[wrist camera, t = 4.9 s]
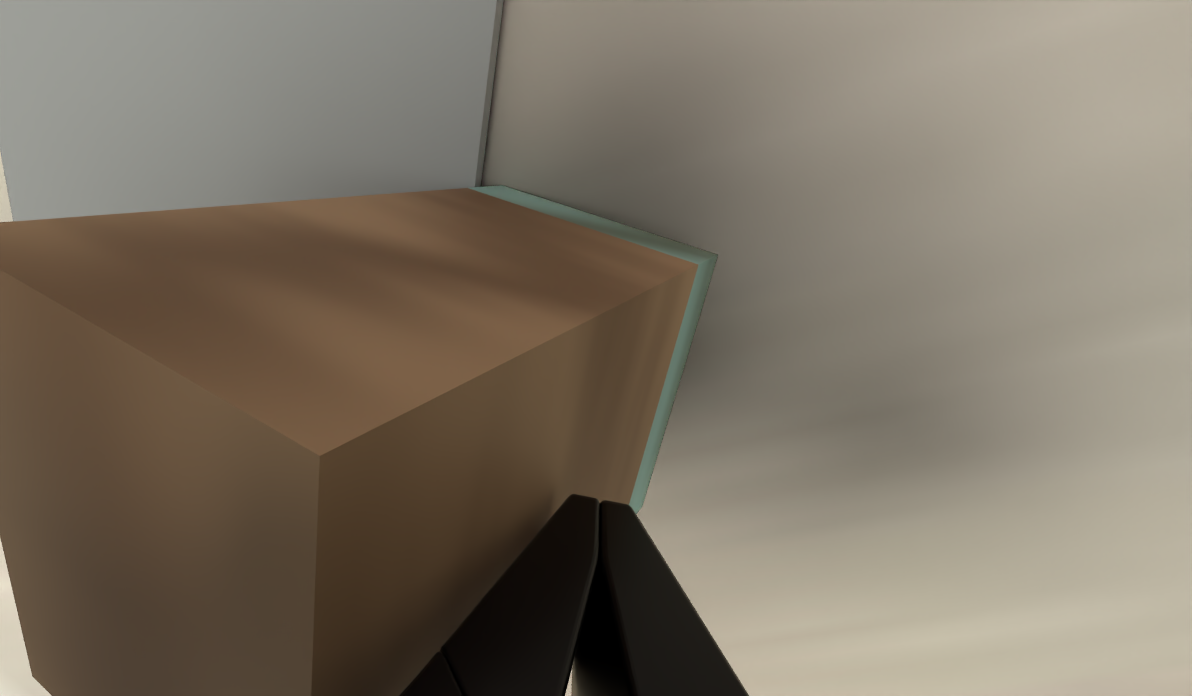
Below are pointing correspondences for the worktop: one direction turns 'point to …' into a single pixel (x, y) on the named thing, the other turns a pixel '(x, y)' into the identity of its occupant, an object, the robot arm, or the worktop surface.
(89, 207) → the mat
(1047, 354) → the worktop surface
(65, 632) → the walnut block
